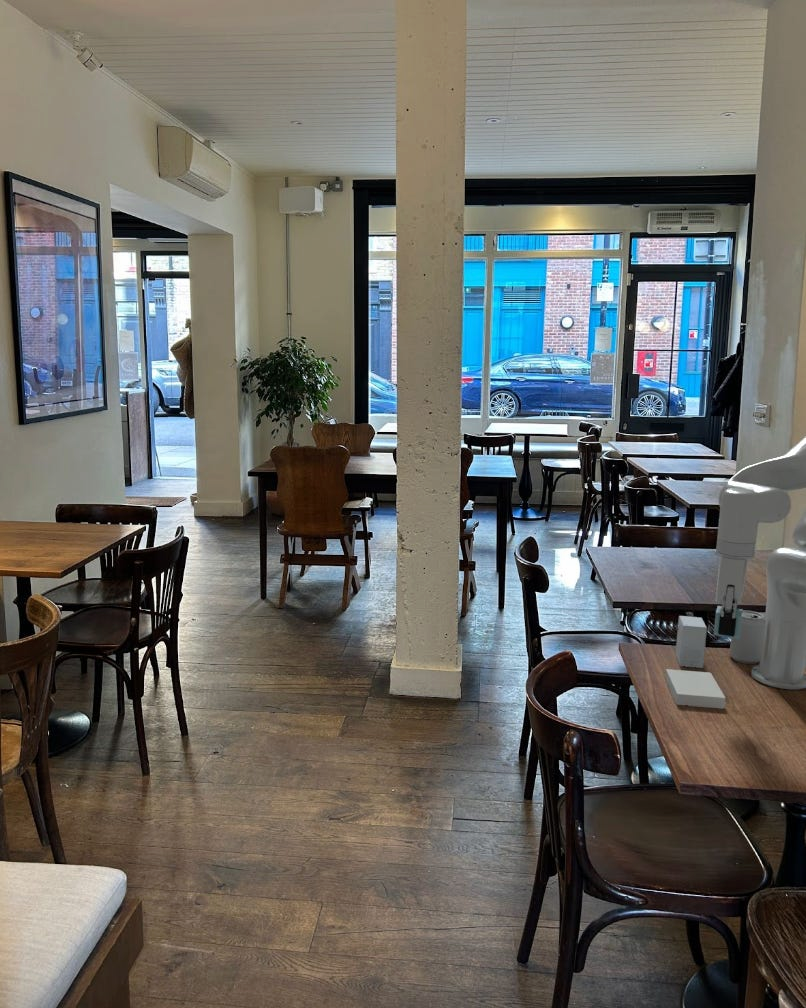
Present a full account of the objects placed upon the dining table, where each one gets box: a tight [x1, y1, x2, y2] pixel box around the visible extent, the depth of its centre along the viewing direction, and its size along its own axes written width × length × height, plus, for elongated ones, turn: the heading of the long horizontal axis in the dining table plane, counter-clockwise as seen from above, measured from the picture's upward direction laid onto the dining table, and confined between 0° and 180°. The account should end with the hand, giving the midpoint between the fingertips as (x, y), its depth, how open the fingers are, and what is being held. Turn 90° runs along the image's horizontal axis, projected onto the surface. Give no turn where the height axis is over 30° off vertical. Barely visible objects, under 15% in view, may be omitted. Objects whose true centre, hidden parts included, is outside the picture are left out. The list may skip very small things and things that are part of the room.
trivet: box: [664, 668, 726, 710], centre depth 182 cm, size 14×10×2 cm
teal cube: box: [713, 605, 744, 639], centre depth 173 cm, size 5×5×5 cm
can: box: [729, 610, 765, 665], centre depth 203 cm, size 8×8×12 cm
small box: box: [675, 615, 708, 669], centre depth 200 cm, size 8×6×10 cm
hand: (727, 629), depth 174 cm, fingers closed on teal cube, 5 cm apart
